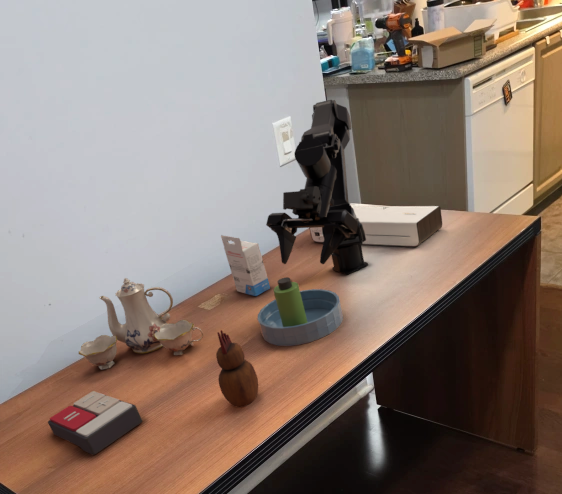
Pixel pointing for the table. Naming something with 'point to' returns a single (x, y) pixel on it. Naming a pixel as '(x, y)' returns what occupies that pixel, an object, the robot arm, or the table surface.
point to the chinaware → (138, 328)
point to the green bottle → (289, 303)
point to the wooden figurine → (235, 373)
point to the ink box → (246, 266)
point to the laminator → (393, 224)
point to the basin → (319, 313)
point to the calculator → (95, 421)
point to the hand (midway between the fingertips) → (302, 263)
